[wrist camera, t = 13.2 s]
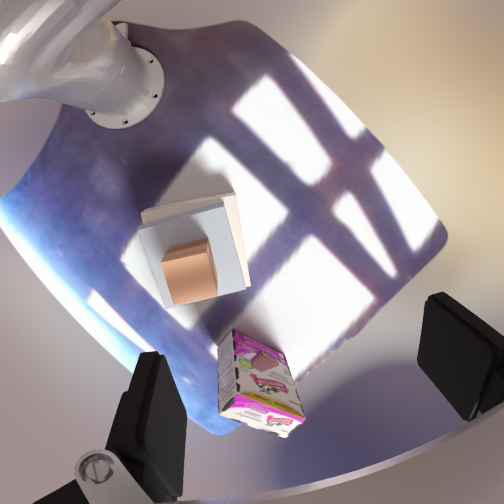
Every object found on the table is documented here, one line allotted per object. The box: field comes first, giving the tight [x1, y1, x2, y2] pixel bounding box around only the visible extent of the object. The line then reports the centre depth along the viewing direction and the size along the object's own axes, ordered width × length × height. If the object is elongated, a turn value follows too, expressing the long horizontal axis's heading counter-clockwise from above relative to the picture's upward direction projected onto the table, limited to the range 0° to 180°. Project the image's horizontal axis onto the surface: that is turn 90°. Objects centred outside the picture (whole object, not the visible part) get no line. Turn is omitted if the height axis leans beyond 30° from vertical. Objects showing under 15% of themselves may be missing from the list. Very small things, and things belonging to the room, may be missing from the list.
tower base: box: [141, 192, 251, 287], centre depth 44 cm, size 13×13×4 cm
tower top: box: [138, 202, 246, 309], centre depth 40 cm, size 11×11×4 cm
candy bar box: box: [218, 329, 306, 438], centre depth 44 cm, size 11×5×16 cm, turn 56°
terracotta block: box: [161, 238, 218, 305], centre depth 36 cm, size 5×5×6 cm
